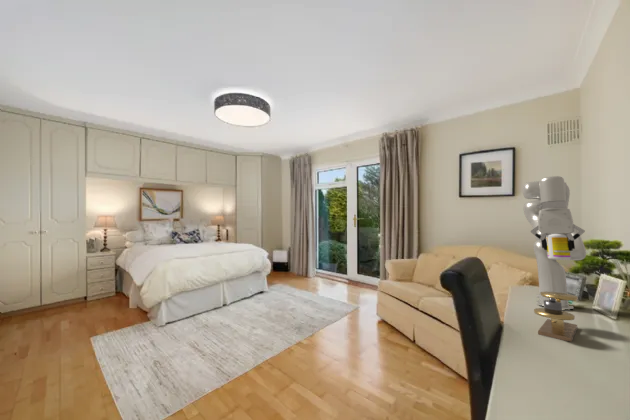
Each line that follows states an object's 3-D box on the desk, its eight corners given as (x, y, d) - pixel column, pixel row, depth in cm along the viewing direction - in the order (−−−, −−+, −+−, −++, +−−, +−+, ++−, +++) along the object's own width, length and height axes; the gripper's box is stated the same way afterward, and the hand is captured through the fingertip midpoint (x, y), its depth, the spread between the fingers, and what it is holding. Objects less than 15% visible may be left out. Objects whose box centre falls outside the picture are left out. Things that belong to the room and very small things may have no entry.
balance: (575, 345, 76) (571, 304, 78) (532, 335, 84) (529, 297, 85) (582, 327, 91) (578, 292, 92) (545, 319, 99) (542, 288, 100)
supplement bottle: (576, 260, 96) (572, 227, 97) (558, 260, 96) (555, 227, 97) (559, 258, 102) (556, 227, 104) (543, 258, 102) (540, 227, 104)
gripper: (524, 207, 106) (528, 249, 104) (584, 203, 92) (589, 251, 90) (528, 209, 110) (532, 249, 108) (585, 205, 97) (590, 251, 95)
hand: (558, 249), depth 99 cm, fingers closed on supplement bottle, 6 cm apart
